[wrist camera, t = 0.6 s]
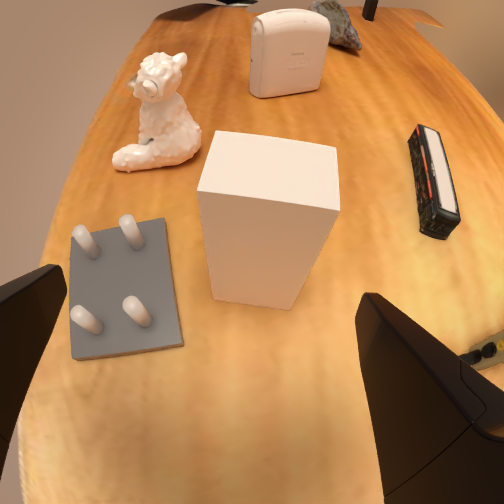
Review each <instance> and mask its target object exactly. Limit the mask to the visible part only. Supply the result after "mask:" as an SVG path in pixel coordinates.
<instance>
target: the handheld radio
mask: <svg viewBox="0 0 504 504" xmlns="http://www.w3.org/2000/svg"><path fill="white" fill-rule="evenodd" d="M459 357H460V360H461V359H462V360H464V361H465V362H466V363H467V364H468V365H472V368H473V369H474V370H480V369H486V368H489V367H491V366H494V365H496V364H499V363H501V362H502V363H504V330H502V331H501V332H499V333H497V334H495V335H493V336H491V337H489V338H488V339H486V340H484V341H482V342H480V343H478V344H476V345H474V346H472V347H471V348H470V352H469V353H468V354H463V355H460V356H459Z"/></svg>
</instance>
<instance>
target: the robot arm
mask: <svg viewBox="0 0 504 504" xmlns="http://www.w3.org/2000/svg"><path fill="white" fill-rule="evenodd" d="M66 294H67V286H66V282H65V278H64V275H63V271H62V268H61V267H60V266H59V265H54V264H48V265H45V266H43V267H41V268H39V269H36V270H34V271H32V272H30V273H28V274H25V275H23V276H21V277H19V278H17V279H15V280H12V281H10V282H8V283H6V284H4V285H2V286H0V480H1V476H2V471H3V467H4V463H5V460H6V456H7V452H8V449H9V443H10V441H11V437H12V434H13V431H14V428H15V425H16V422H17V419H18V416H19V413H20V410H21V407H22V404H23V402H24V399H25V396H26V394H27V391H28V388H29V386H30V383H31V381H32V378H33V376H34V373H35V371H36V368H37V366H38V364H39V361H40V359H41V357H42V354H43V352H44V350H45V348H46V345H47V343H48V341H49V339H50V336H51V334H52V332H53V329H54V326H55V324H56V321H57V318H58V315H59V313H60V310H61V308H62V305H63V302H64V300H65V297H66ZM355 326H356V334H357V342H358V351H359V360H360V367H361V372H362V377H363V382H364V386H365V391H366V396H367V401H368V405H369V410H370V416H371V421H372V426H373V431H374V437H375V443H376V449H377V455H378V461H379V467H380V474H381V481H382V488H383V495H384V497H385V498H384V504H504V391H502V390H501V389H500V388H498V387H497V386H495V385H494V384H493V383H491V382H490V381H489V380H487V379H486V378H485V377H483V376H482V375H481V374H479V373H478V372H477V371H476V370H474V369H473V368H472V367H471V366H470V365H468V364H467V363H466V362H465V361H464V360H462V359H461V360H460V357H459V356H457V355H456V354H455V353H454V352H452V351H451V350H450V349H449V348H448V347H446V346H445V345H444V344H443V343H441V342H440V341H439V340H438V339H436V338H435V337H434V336H433V335H431V334H430V333H429V332H427V331H426V330H425V329H424V328H422V327H421V326H420V325H419V324H417V323H416V322H415V321H413V320H412V319H411V318H410V317H408V316H407V315H406V314H404V313H403V312H402V311H401V310H399V309H398V308H397V307H395V306H394V305H393V304H391V303H390V302H389V301H388V300H386V299H385V298H384V297H382V296H381V295H380V294H378V293H369V292H366V293H364V294H363V296H362V298H361V301H360V304H359V307H358V310H357V313H356V316H355Z"/></svg>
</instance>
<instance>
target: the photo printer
mask: <svg viewBox="0 0 504 504" xmlns="http://www.w3.org/2000/svg"><path fill="white" fill-rule="evenodd" d="M329 37H330V23H329V21H328V19H327V18H326V17H324V16H322V15H320V14H318V13H316V12H312V11H308V10H302V9H282V10H276V11H271V12H268V13H264V14H262V15H259V16H257V17H255V18H254V20H253V23H252V33H251V54H250V73H249V85H250V88H249V90H250V93H251V94H252V95H254V96H255V97H258V98H267V97H274V96H280V95H287V94H293V93H299V92H306V91H312V90H316V89H318V87H319V85H320V80H321V76H322V71H323V67H324V62H325V57H326V52H327V47H328V42H329Z"/></svg>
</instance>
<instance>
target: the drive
mask: <svg viewBox="0 0 504 504" xmlns="http://www.w3.org/2000/svg"><path fill="white" fill-rule="evenodd" d="M197 196H198V204H199V211H200V218H201V225H202V232H203V238H204V245H205V252H206V258H207V264H208V271H209V277H210V283H211V289H212V295H213V300H218V301H225V302H232V303H239V304H246V305H253V306H260V307H268V308H276V309H284V310H290V309H291V308H292V306H293V304H294V302H295V300H296V298H297V296H298V294H299V292H300V291H301V289H302V287H303V285H304V283H305V281H306V279H307V277H308V275H309V273H310V271H311V269H312V267H313V265H314V263H315V261H316V259H317V257H318V255H319V253H320V251H321V249H322V247H323V245H324V243H325V241H326V239H327V237H328V235H329V233H330V231H331V229H332V227H333V225H334V223H335V221H336V219H337V216H338V214H339V212H340V196H339V179H338V165H337V152H336V147H331V146H326V145H320V144H315V143H309V142H303V141H297V140H290V139H284V138H277V137H270V136H262V135H254V134H245V133H236V132H226V131H216V132H215V135H214V138H213V141H212V144H211V147H210V150H209V153H208V156H207V159H206V162H205V166H204V169H203V172H202V175H201V178H200V182H199V185H198V188H197Z"/></svg>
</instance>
